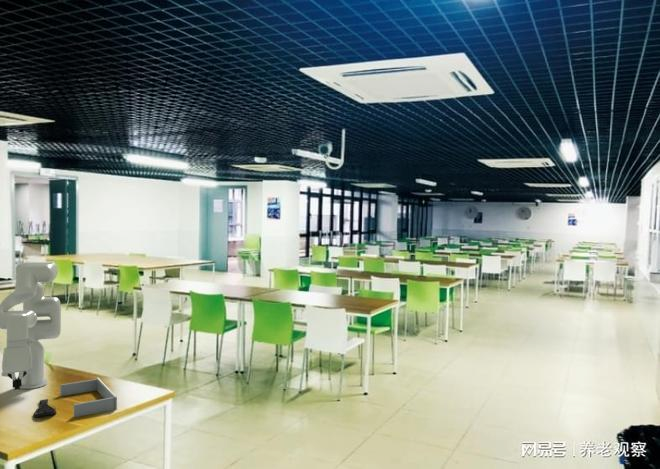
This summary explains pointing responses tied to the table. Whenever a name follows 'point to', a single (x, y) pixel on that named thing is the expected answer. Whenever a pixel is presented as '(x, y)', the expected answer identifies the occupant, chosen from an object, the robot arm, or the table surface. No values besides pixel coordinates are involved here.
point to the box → (91, 406)
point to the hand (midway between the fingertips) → (16, 388)
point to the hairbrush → (44, 409)
